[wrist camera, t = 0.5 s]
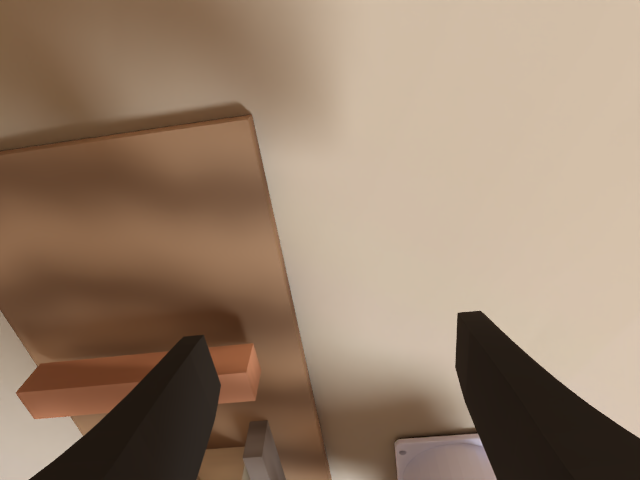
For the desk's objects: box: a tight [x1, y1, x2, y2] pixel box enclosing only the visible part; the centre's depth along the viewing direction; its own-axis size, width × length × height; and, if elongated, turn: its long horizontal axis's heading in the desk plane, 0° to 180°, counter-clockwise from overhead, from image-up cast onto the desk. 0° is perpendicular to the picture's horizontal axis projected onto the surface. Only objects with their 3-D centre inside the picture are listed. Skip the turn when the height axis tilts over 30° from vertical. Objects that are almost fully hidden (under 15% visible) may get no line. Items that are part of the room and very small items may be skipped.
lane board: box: [0, 115, 332, 480], centre depth 25 cm, size 32×16×4 cm, turn 8°
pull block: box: [16, 343, 261, 480], centre depth 24 cm, size 16×12×6 cm
